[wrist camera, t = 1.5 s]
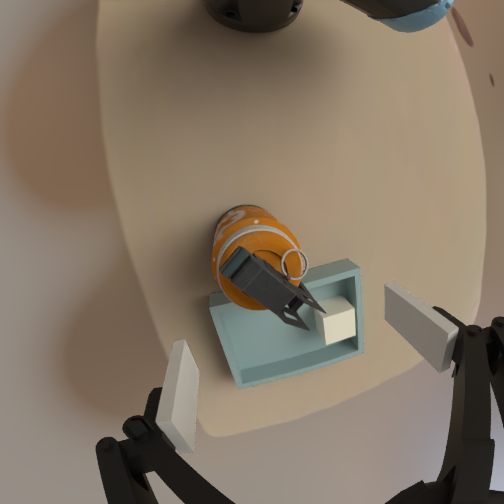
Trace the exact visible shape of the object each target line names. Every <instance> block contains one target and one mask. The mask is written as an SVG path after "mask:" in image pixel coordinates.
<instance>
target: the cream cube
mask: <svg viewBox="0 0 504 504" xmlns="http://www.w3.org/2000/svg"><path fill="white" fill-rule="evenodd" d="M317 303H318V304H319V305H320V306H321V307H322V308H323V309H324V311H325V312H326V314H325V313H323V312H321V311H319V310H317V309H315V308H314V315H315V322H316V329H317V331H318V332H319V334H320V336H321V337H322V339H323V341H324V343H325V344H326V345H328V344H332V343H335V342H338V341H341V340H343V339H346V338H349V337H352V336H355V335H356V329H355V309H354V307H353V306H352V305H351V304H350V303H349V302H348V301H347V300H346V299H345V298H344V297H343V296H342V295H339V296H335V297H332V298H329V299H326V300H322V301H319V302H317Z"/></svg>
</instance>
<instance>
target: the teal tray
mask: <svg viewBox="0 0 504 504" xmlns="http://www.w3.org/2000/svg"><path fill="white" fill-rule="evenodd" d="M304 271H305V270H304ZM304 271H303V273H304ZM303 273H302V274H303ZM301 281H302V283H303V284H304V286H305V287H306V288H307V290H308V291H309V292H310V294H311V295H312V297H313V298H314V299H315V300H316V302H319V301H322V300H326V299H329V298H332V297H335V296H339V295H342V296H343V297H344V298H345V299H346V300H347V301H348V302H349V303H350V304H351V305H352V306H353V307H354V309H355V329H356V335H355V336H352V337H349V338H346V339H343V340H341V341H338V342H335V343H332V344H328V345H326V344H325V343H324V341H323V339H322V337H321V336H320V334H319V332H318V331H317V329H316V322H315V315H314V308H313V307H311V306H309V305H307V304H305V303H304V304H303V305H302V306H301V307H300V308H299V309H298V310H297V313H298V315H299V316H300V318H301V319H302V320H303V321H304V323H305V324H306V325H307V327H308V328H309V329H310V331H308V330H305V329H301V328H298V327H295V326H292V325H289V324H285V323H284V322H283V321H282V320H281V319H280V318H279V317H278V316H277V315H276V314H274V313H273V312H271V311H270V310H269V309H268V310H260V311H257V310H249V309H245V308H242V307H240V306H238V305H236V304H234V303H233V302H232V301H230V300H229V299H228V298H227V297H226V296H225V294H224V293H223V291H222V292H218V293H213V294H210V301H209V310H210V313H211V316H212V319H213V322H214V325H215V327H216V330H217V333H218V336H219V339H220V342H221V345H222V347H223V350H224V353H225V356H226V358H227V361H228V364H229V367H230V369H231V372H232V375H233V377H234V380H235V382H236V385H237V388H238V389H241V388H246V387H250V386H255V385H259V384H263V383H267V382H272V381H275V380H279V379H283V378H287V377H291V376H294V375H298V374H301V373H305V372H308V371H311V370H314V369H318V368H321V367H324V366H327V365H330V364H333V363H336V362H339V361H342V360H345V359H348V358H350V357H353V356H356V355H359V354H361V353H364V330H363V302H362V285H361V272H360V267H359V266H357V265H356V264H355V263H353V262H352V261H350V260H349V259H344V260H340V261H337V262H333V263H330V264H326V265H322V266H319V267H315V268H311V269H308V271H307V273H306V275H305V276H304V277H303V278H301ZM308 300H310V299H309V298H308ZM310 301H312V300H310ZM312 302H313V301H312ZM285 307H287V308H289V307H288V305H286V306H285ZM284 313H285V312H284ZM285 315H286V317H289V318H292V319H295V320H297V319H296V318H295V317H294V316H291V315H289V314H287V313H285Z"/></svg>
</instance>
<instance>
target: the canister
mask: <svg viewBox="0 0 504 504" xmlns="http://www.w3.org/2000/svg"><path fill="white" fill-rule="evenodd" d="M301 254H302V255H303V257H304V259H305V262H306V267H305V271H304V273H303V263H302V256H301ZM211 267H212V272H213V276H214V279H215V281H216V283H217V284H218V286H219V287H220V289H221V290H222V291H223V293H224V294H225V296H226V297H227V298H228V299H229V300H230V301H232V302H233V303H234V304H236V305H238V306H240V307H242V308H245V309H249V310H257V311H260V310H268V309H269V310H270V311H271V312H273V313H274V314H276V315H277V316H278V317H279V318H280V319H281V320H282V321H283V322H284V323H285V324H289V325H292V326H295V327H298V328H301V329H305V330H308V331H310V329H309V328H308V327H307V325H306V324H305V323H304V321H303V320H302V319H301V318H300V316H299V315H298V313H297V310H298V309H299V308H300V307H301V306H302V305H303V304H304V303H305V304H307V305H309V306H311V307H313V308H315V309H317V310H319V311H321V312H323V313H325V314H326V312H325V311H324V309H323V308H322V307H321V306H320V305H319V304H318V303H317V302H316V300H315V299H314V298H313V297H312V295H311V294H310V292H309V291H308V290H307V288H306V287H305V286H304V284H303V283H302V281H301V278H303V277H304V276H305V275H306V273H307V271H308V267H309V262H308V258H307V256H306V254H305V253H304V252H303V251H301V250H300V246H299V244H298V241H297V239H296V238H295V236H294V235H293V233H292V232H291V231H290V230H289V229H288V228H287V227H285V226H284V225H283V224H282V223H280V222H279V221H278V220H277V219H276V218H274V217H273V216H272V215H271V214H269V213H268V212H267V211H265V210H264V209H262V208H260V207H257V206H254V205H241V206H237V207H234V208H232V209H230V210H229V211H227V212H226V213H225V214H224V215H223V216H222V217H221V219H220V220H219V222H218V224H217V226H216V229H215V236H214V243H213V251H212V259H211ZM302 273H303V274H302ZM308 298H309V299H310V300H312V301H313V302H312V301H310V300H308ZM286 305H288V307H289V308H287V307H285V306H286ZM284 312H285V313H287V314H289V315H291V316H294V317H295V318H296V319H297V320H295V319H292V318H289V317H286V315H285V313H284Z"/></svg>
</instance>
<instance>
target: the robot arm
mask: <svg viewBox="0 0 504 504" xmlns="http://www.w3.org/2000/svg"><path fill="white" fill-rule="evenodd" d="M340 1H342V2H344V3H346V4H348V5H350V6H352V7H354V8H356V9H358V10H360V11H361V12H363V13H365V14H367V16H368V17H370V18H371V19H374V20H377V21H380V22H382V23H383V24H385V25H387V26H388V27H390V28H392V29H394V30H396V31H399V32H407V33H409V32H416V31H420V30H423V29H425V28H428V27H430V26H431V25H433V24H435V23H436V22H438V21H439V20H440V19H442V18H443V17H444V16H445V15H446V14H447V9H448V8H451V7H452V5H453V3H454V0H340ZM302 4H303V0H205V5H206V8H207V10H208V12H209V13H210V15H211V16H212V17H213V18H214V19H215V20H217V21H218V22H220V23H221V24H223V25H225V26H227V27H230V28H233V29H236V30H240V31H245V32H269V31H274V30H278V29H280V28H283V27H285V26H287V25H289V24H290V23H291V22H292V21H294V20H295V18H296V17H297V15H298V14H299V12H300V10H301V8H302ZM384 287H385V320H386V321H387V322H388V323H389V324H390V325H391V326H392V327H393V328H394V329H395V330H396V331H397V332H398V333H400V334H401V335H402V336H403V337H404V338H405V339H406V340H407V341H408V342H409V343H410V344H411V345H412V346H413V347H414V348H415V349H416V350H417V351H418V352H419V353H420V354H421V355H422V356H423V357H424V358H425V359H426V360H427V361H428V362H429V363H430V364H431V365H432V366H433V367H434V368H435V369H436V370H437V371H438V372H439V373H441V372H443V371H445V370H446V369H448V368H450V364H451V361H452V360H453V361H454V362H455V363H456V364H455V368H454V371H453V374H452V377H454V388H453V401H452V411H451V420H450V428H449V434H448V440H447V445H446V451H445V456H444V460H443V465H442V469H441V471H440V474H439V476H438V478H437V481H435V482H429V483H425V484H424V482H423V481H422V480H421V481H420V482H418V483H416V484H414V485H412V486H411V487H409V488H407V489H405V490H403V491H401V492H400V493H398V494H397V495H396V496H394V497H393V498H392V499H390V500H389V501H388V502H386V503H385V504H504V491H495V490H489V487H490V482H491V475H492V467H493V459H494V448H495V441H494V439H491V438H490V430H491V429H490V428H491V395H490V394H491V393H490V383H491V386H492V389H493V392H494V395H495V398H496V401H497V405H498V408H499V412H500V415H501V419H502V423H503V427H504V317H496V318H494V319H493V320H492V323H491V326H490V327H486V328H484V329H482V328H481V327H479V326H477V325H468V326H466V325H465V324H463V323H462V322H460V321H459V320H458V319H456V318H455V317H454V316H453V317H452V315H451V314H449V313H448V312H446V311H445V310H444V309H442V308H439V307H436V306H434V307H432V308H431V307H430V306H429V305H427V304H426V303H424V302H423V301H422V300H420V299H419V298H417V297H416V296H414V295H413V294H412V293H410V292H409V291H407V290H406V289H404V288H403V287H401V286H400V285H399V284H397V283H396V282H394V281H393V282H390V283H387V284H384ZM198 384H199V370H198V368H197V365H196V363H195V361H194V359H193V356H192V354H191V352H190V349H189V347H188V345H187V342H186V340H185V339H184V340H179V341H174V343H173V347H172V351H171V355H170V359H169V363H168V367H167V372H166V376H165V380H164V384H163V387H160V388H154V389H153V390H152V391H151V393H150V394H149V397H148V400H147V404H146V409H145V413H144V416H140V415H136V416H132V417H130V418H128V419H127V420H126V421H125V423H124V424H123V428H122V429H123V432H124V433H125V435H126V436H127V437H128V438H129V439H126V440H122V441H119V442H118V441H116V439H114V438H113V437H104V438H103V439H101V440H100V441H99V442H98V443H97V445H96V454H97V460H98V465H99V470H100V474H101V478H102V482H103V486H104V490H105V494H106V498H107V501H108V504H158V502H157V499H156V497H155V495H154V493H153V491H152V489H151V486H150V484H149V481H148V479H147V477H146V474H145V473H148V472H152V471H155V472H156V473H157V474H158V476H160V478H161V479H162V480H163V481H164V482H165V483H166V485H167V486H168V487H169V488H170V489H171V490H172V491H173V492H174V493H175V494H176V495H177V496H178V497H179V498H180V499H181V500H182V501H183V502H184V503H185V504H235V503H234V502H233V501H231V500H230V499H229V498H227V497H226V496H225V495H223V494H222V493H221V492H220V491H218V490H217V489H216V488H215V487H214V486H212V485H211V484H210V483H209V482H207V481H206V480H205V479H204V478H203V477H202V476H201V475H199V474H198V473H197V472H196V471H195V470H194V469H193V468H192V467H191V466H190V465H188V463H186V462H185V461H184V460H183V459H182V458H181V457H180V456H179V455H178V454H177V453H176V452H175V448H176V449H177V451H178V452H179V453H194V450H195V430H196V429H195V428H196V413H197V398H198Z"/></svg>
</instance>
